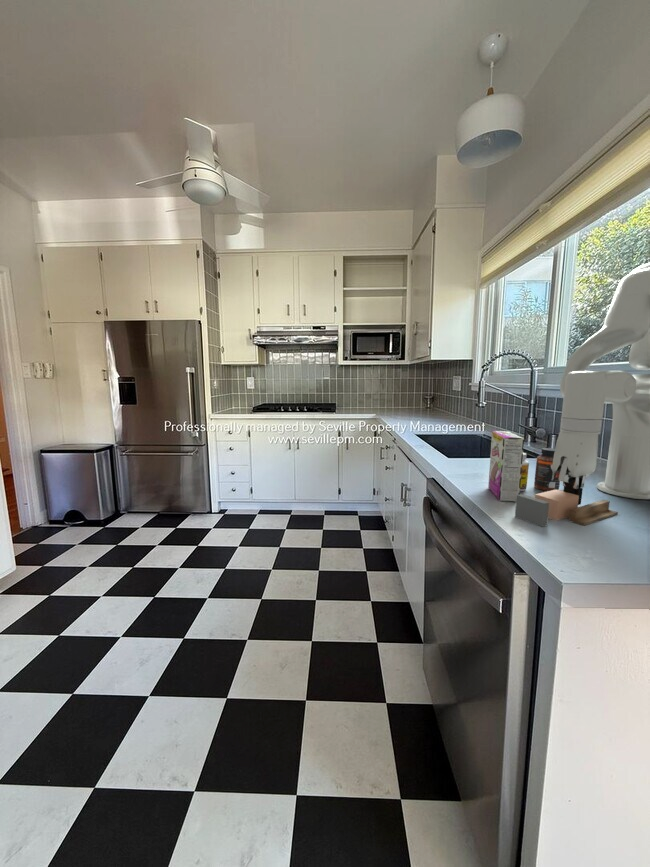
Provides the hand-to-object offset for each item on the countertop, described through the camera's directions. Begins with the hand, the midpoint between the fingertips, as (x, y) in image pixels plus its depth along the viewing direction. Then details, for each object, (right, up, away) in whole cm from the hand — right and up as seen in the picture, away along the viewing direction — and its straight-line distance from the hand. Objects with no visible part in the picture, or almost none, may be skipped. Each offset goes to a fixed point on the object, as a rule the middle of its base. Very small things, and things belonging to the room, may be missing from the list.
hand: (571, 503), depth 82 cm
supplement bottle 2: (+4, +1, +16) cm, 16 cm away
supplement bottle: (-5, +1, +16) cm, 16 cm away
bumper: (-14, -2, -7) cm, 16 cm away
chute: (-1, -1, 0) cm, 2 cm away
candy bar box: (-11, 0, +10) cm, 15 cm away
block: (-6, -2, -3) cm, 6 cm away
